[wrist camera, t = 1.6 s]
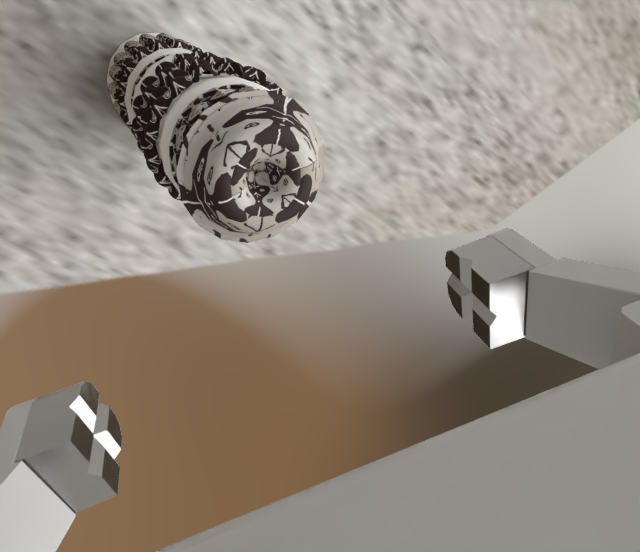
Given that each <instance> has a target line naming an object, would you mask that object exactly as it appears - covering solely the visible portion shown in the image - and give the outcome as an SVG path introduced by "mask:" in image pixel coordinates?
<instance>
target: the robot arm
mask: <svg viewBox="0 0 640 552" xmlns="http://www.w3.org/2000/svg"><path fill="white" fill-rule="evenodd" d="M445 261H446V267H447V268H448V269H449V270H450V271H451V272H452V274H451V276H450V278H449V279H448V282H447V286H448V294H449V297H450V300H451V303H452V305H453V307H454V308H455V310H456V312H457V313H458V314H459V315H460V316H461V318H462V319H465V320H468V321H471V322H473V329H474V332H475V333H476V334H477V335H478V336H479V337H480V339H482V341H483V342H484V343H485V344H486V345H487V346H488V347H489V348H490V349H493V348H495V347H498V346H501V345H504V344H506V343H509V342H512V341H515V340H517V339H520V338H523V337H526V339H528V340H530V341H533V342H535V343H538V344H540V345H542V346H545V347H547V348H550V349H552V350H554V351H557V352H559V353H562V354H564V355H566V356H569V357H571V358H574V359H576V360H579V361H581V362H583V363H586V364H588V365H591V366H593V367H596V368H598V369H599V370H597V371H595V372H592V373H589V374H587V375H584V376H582V377H580V378H577V379H575V380H573V381H570V382H567V383H565V384H563V385H560V386H558V387H555V388H553V389H550V390H548V391H545V392H543V393H541V394H538V395H536V396H533V397H531V398H528V399H526V400H523V401H521V402H519V403H516V404H514V405H511V406H509V407H506V408H504V409H501V410H499V411H497V412H494V413H492V414H489V415H487V416H484V417H482V418H479V419H477V420H475V421H472V422H470V423H467V424H465V425H462V426H460V427H457V428H455V429H453V430H451V431H448V432H445V433H443V434H440V435H438V436H436V437H433V438H431V439H428V440H426V441H423V442H421V443H419V444H416V445H413V446H411V447H409V448H406V449H404V450H401V451H399V452H396V453H394V454H392V455H389V456H387V457H384V458H382V459H379V460H377V461H374V462H372V463H369V464H367V465H365V466H362V467H360V468H357V469H355V470H352V471H350V472H348V473H345V474H343V475H340V476H338V477H335V478H333V479H330V480H328V481H326V482H323V483H321V484H318V485H316V486H313V487H311V488H308V489H306V490H304V491H301V492H299V493H296V494H294V495H292V496H289V497H286V498H284V499H282V500H279V501H277V502H274V503H272V504H269V505H267V506H265V507H262V508H260V509H257V510H255V511H253V512H250V513H248V514H245V515H243V516H240V517H238V518H235V519H233V520H230V521H228V522H226V523H223V524H221V525H218V526H216V527H213V528H211V529H208V530H206V531H204V532H201V533H199V534H196V535H194V536H191V537H189V538H186V539H184V540H182V541H179V542H177V543H174V544H172V545H169V546H167V547H164V548H162V549H160V550H157V551H155V552H640V272H638V271H633V270H627V269H622V268H616V267H611V266H605V265H599V264H594V263H588V262H583V261H577V260H572V259H566V258H561V259H559V260H556V259H554V258H553V257H551V256H550V255H549V254H547V253H546V252H544V251H543V250H542V249H540V248H539V247H537V246H536V245H534V244H532V243H531V242H530V241H529V240H527V239H526V238H524V237H523V236H521V235H520V234H518V233H517V232H516V231H514V230H512V229H509V228H506V229H503V230H500V231H498V232H495V233H493V234H490V235H488V236H486V237H485V238H482V239H479V240H476V241H473V242H471V243H468V244H465V245H462V246H460V247H457V248H455V249H452V250H449V251H447V252H446V257H445ZM98 399H99V392H98V391H97V390H96V388H95V387H94V386H93V385H92V383H90V382H82V383H79V384H76V385H73V386H70V387H67V388H64V389H61V390H58V391H55V392H52V393H49V394H46V395H44V396H40V397H38V398H36V399H32V400H30V401H27V402H24V403H21V404H18V405H15V406H13V407H12V408H10V409H9V410H8V411H7V413H6V415H5V419H4V422H3V424H2V427H1V430H0V552H55V551H56V550H57V548H58V546H59V545H60V543H61V541H62V539H63V537H64V536H65V534H66V532H67V531H68V529H69V527H70V525H71V523H72V522H73V520H74V518H75V516H76V514H75V513H77V512H79V511H82V510H84V509H86V508H89V507H91V506H93V505H96V504H98V503H101V502H103V501H105V500H108V499H110V498H112V497H115V496H117V495H118V483H119V472H120V467H119V465H118V464H117V463H116V461H115V460H114V459H115V457H116V456H117V454H118V453H119V452H120V450H121V444H122V443H121V442H122V435H121V431H120V426H119V422H118V420H117V418H116V416H115V414H114V413H113V411H112V410H111V408H110V407H108V406H105V405H102V404H99V403H98Z"/></svg>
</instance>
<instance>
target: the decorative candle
mask: <svg viewBox="0 0 640 552" xmlns="http://www.w3.org/2000/svg"><path fill="white" fill-rule="evenodd" d="M265 77H266V75H265V73H264V72H262V71H261V70H259V69H256V68H254V67H251V66H245V67H243V66H242V65H241V64H239V63H236V62H234V61H232V60H231V59H229V58H220V57H217V56H215V55H214V54H212V53H210V52H205V53H203V52H202V50H201V49H200V48H197V47H195V46H193V45H190V44H189V43H188V42H185V41H183V40H181V39H175V38H173V37H171V36H169V35H167V34H165V33H142V34H137V35H135V36H134V37H132V38H130V39H128V40H126V41H125V42H123V43H121V44H120V46H119V47H118V49H117V50H116V52H115V53H114V55H113V56H112V57H111V59H110V62H109V68H108V74H107V84H108V89H109V93H110V97H111V101H112V102H113V106H114V108H115V109H116V111H117V113H118V114H119V115H120V116H121V118H122V119H123V121H124V123H125V124H126V125H127V126H128V128H129V129H131V131H132V133H133V134H134V136H135V138H136V139H137V140H138V142H137V144H138V147H139V149H140V150H141V151H142V152H143V153H144V156H145V159H146V163H147V166H148V168H149V169H150V170H151V171H152V172H153V173H154V177H155V179H156V181H157V182H158V183H159V184H160V185H162V186H164V187H167V188H168V191H169V193H170V195H171V196H172V197H173V198H175V199H177V200H182V203H183V204H184V205H185V207H186V208H187V210H188V211H189V213H190V214H191V216H192V217H193V218H194V220H195V221H196V223H197V224H198V225H199V226H200V227H202V228H204V229H205V230H207V231H209V232H210V233H212V234H214V235H215V236H217V237H219V238H220V239H224V240H232V241H239V242H247V243H249V242H253V241H257V240H261V239H265V238H269V237H273V236H275V235H277V234H278V233H280V232H281V231H283V230H285V229H286V228H288V227H289V226H291V225H292V224H294V223H295V222H297V221H298V219H299V218H300V217H301V216H302V214H303V213H304V212H305V211H306V209H307V208H308V207H309V205H310V204H311V203H312V202H313V200H314V199H315V196H316V193H317V190H318V188H319V185H320V182H321V179H322V176H323V174H324V144H323V142H322V139H321V137H320V134H319V132H318V129H317V127H316V124H315V122H314V119H313V118H312V117H311V116H310V115H309V114H308V113H307V112H306V111H305V110H304V109H303V108H302V107H301V106H300V105H299V104H298V103H297V102H296V101H295V100H294V99H291V98H289V97H286V96H283V95H282V89H281V88H280V87H279V86H277V84H275V83H271V82H268V81H266V78H265Z"/></svg>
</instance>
